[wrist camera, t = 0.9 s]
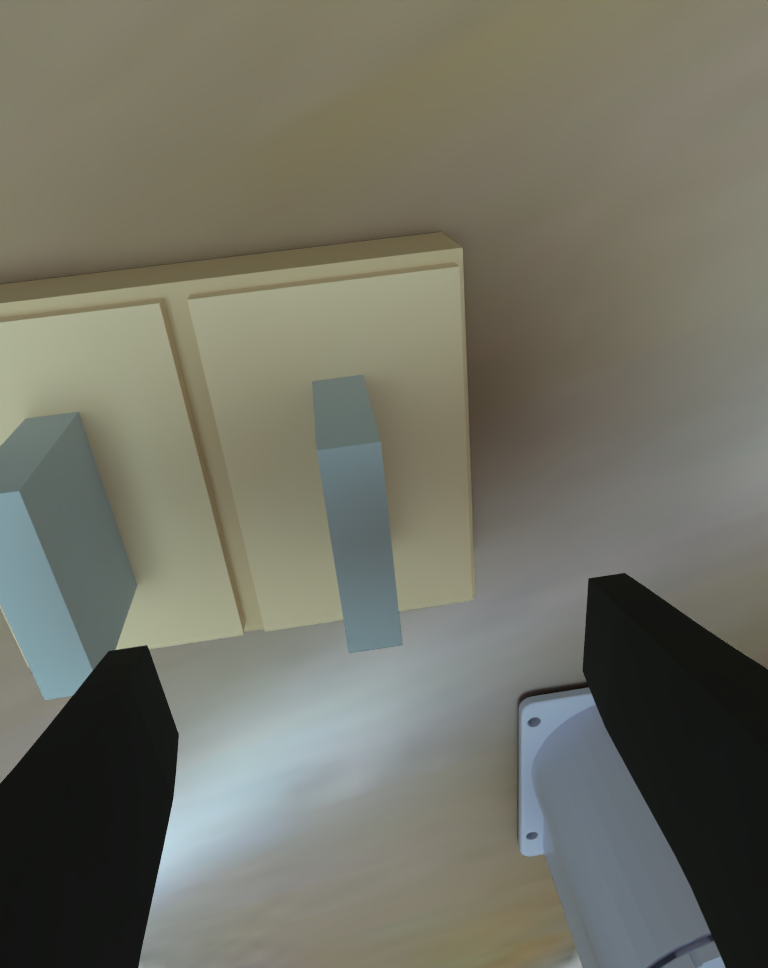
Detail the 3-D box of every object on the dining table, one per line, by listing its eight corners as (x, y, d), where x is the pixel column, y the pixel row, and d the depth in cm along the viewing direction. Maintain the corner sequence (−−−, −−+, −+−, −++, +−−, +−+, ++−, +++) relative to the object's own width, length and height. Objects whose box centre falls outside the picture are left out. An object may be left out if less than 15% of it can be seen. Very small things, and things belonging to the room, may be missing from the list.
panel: (457, 550, 22) (475, 596, 20) (58, 608, 22) (31, 663, 19) (441, 231, 17) (462, 247, 15) (-75, 293, 17) (-131, 318, 14)
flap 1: (245, 623, 20) (232, 743, 16) (34, 654, 19) (-30, 784, 15) (162, 297, 15) (118, 356, 11) (-115, 331, 15) (-257, 404, 11)
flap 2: (468, 589, 20) (508, 699, 16) (265, 620, 20) (258, 739, 16) (454, 262, 15) (506, 308, 12) (190, 294, 15) (155, 352, 11)
